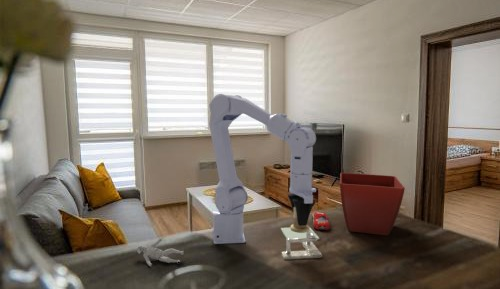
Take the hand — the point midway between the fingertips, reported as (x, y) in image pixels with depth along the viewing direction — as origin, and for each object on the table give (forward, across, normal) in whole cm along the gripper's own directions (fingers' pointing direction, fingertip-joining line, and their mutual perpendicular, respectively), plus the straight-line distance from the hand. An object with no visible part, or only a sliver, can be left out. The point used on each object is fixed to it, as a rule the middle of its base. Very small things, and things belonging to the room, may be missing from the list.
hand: (300, 222), depth 85 cm
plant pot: (+10, +19, -29) cm, 36 cm away
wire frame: (+9, +3, -1) cm, 10 cm away
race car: (+10, +24, -14) cm, 29 cm away
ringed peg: (+2, 0, 0) cm, 2 cm away
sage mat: (+10, +16, -4) cm, 19 cm away
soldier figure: (+10, +1, +37) cm, 38 cm away
